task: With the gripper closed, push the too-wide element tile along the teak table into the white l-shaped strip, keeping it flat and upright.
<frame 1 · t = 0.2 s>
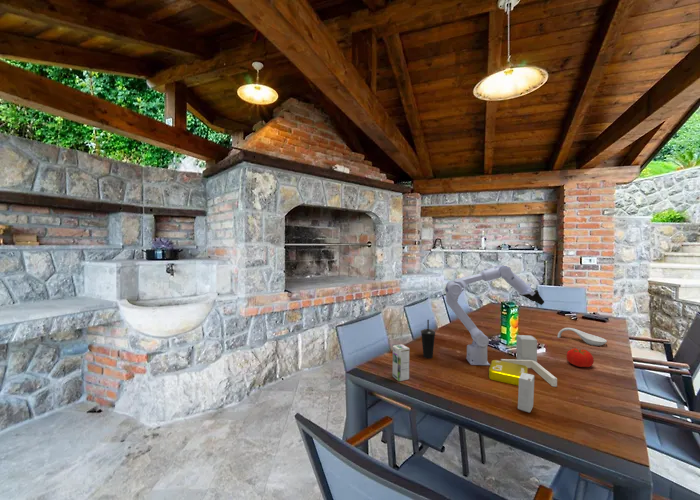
hand: (538, 301, 148), 32 cm above the table, tool tilted 50°, fingers open, 7 cm apart
white l-shaped strip: (520, 375, 138), on the table
tomato: (579, 365, 149), on the table
drinking cup: (428, 357, 161), on the table
element tile: (508, 377, 137), on the table
skincare box: (525, 408, 112), on the table
syrup box: (400, 378, 137), on the table
supplement box: (526, 362, 154), on the table
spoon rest: (581, 342, 182), on the table
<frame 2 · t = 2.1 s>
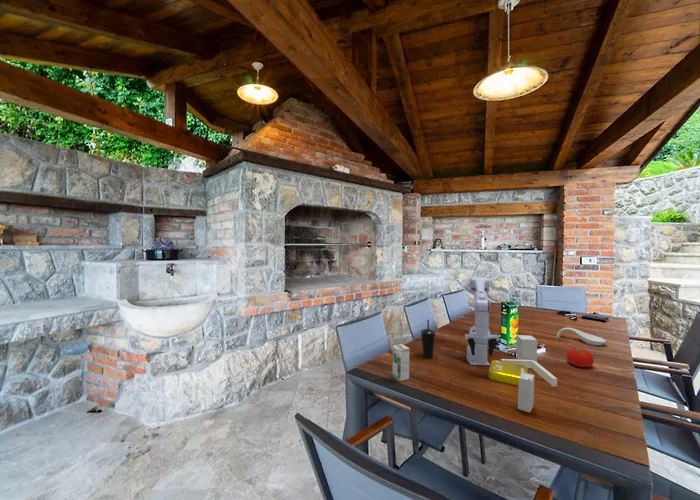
hand: (481, 355, 138), 10 cm above the table, tool pointing down, fingers open, 7 cm apart
nothing on the table moved.
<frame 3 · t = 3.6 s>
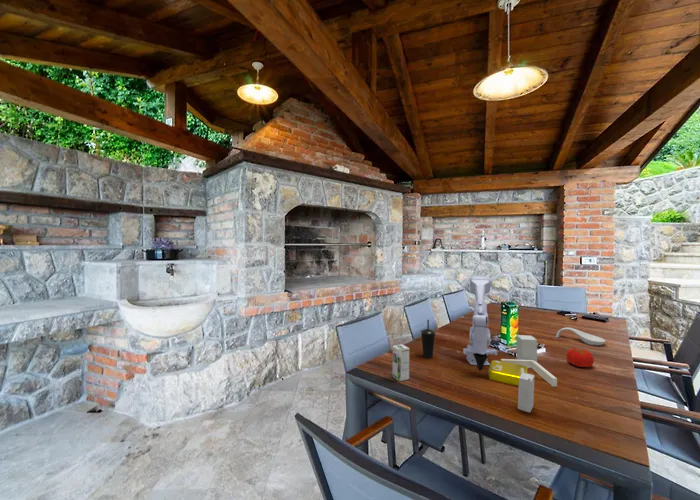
hand: (479, 369, 139), 3 cm above the table, tool pointing down, fingers closed
nothing on the table moved.
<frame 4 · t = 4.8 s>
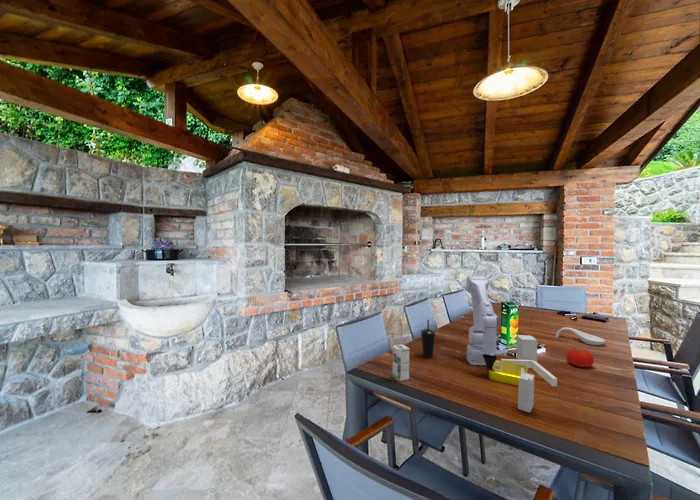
hand: (489, 370, 138), 2 cm above the table, tool pointing down, fingers closed
element tile: (508, 377, 137), on the table, touching gripper
everything else where it was.
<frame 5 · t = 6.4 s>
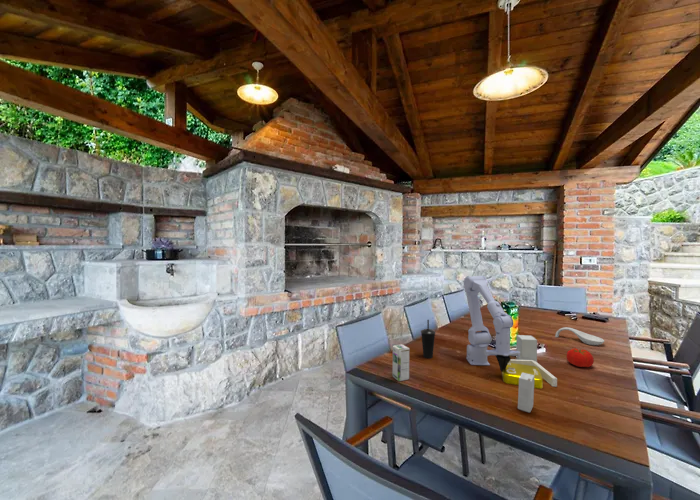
hand: (502, 371, 138), 2 cm above the table, tool pointing down, fingers closed
element tile: (520, 379, 135), on the table
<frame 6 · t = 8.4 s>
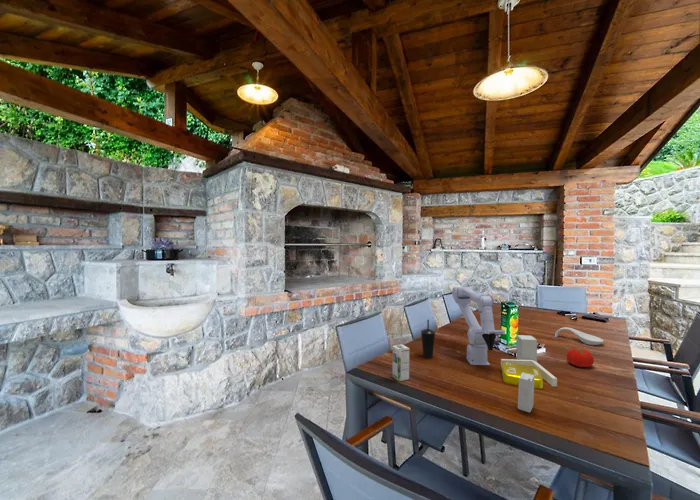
hand: (490, 350, 142), 10 cm above the table, tool pointing down, fingers closed
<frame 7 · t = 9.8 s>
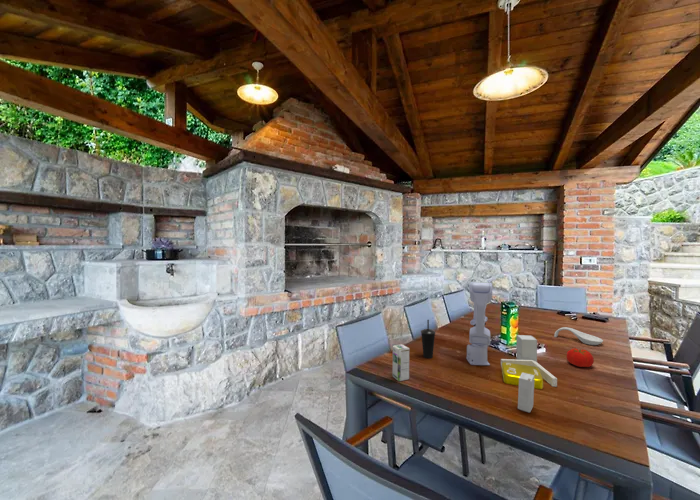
hand: (479, 335, 166), 9 cm above the table, tool pointing down, fingers closed
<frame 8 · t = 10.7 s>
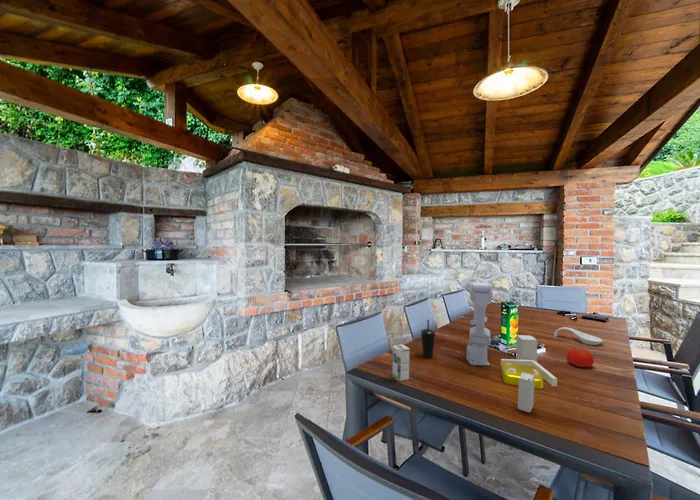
hand: (479, 335, 166), 9 cm above the table, tool pointing down, fingers closed
at the end: element tile inside the target area (2.6 cm from its centre), on the table; element tile tilted 0°; element tile moved 5.2 cm from its start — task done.
